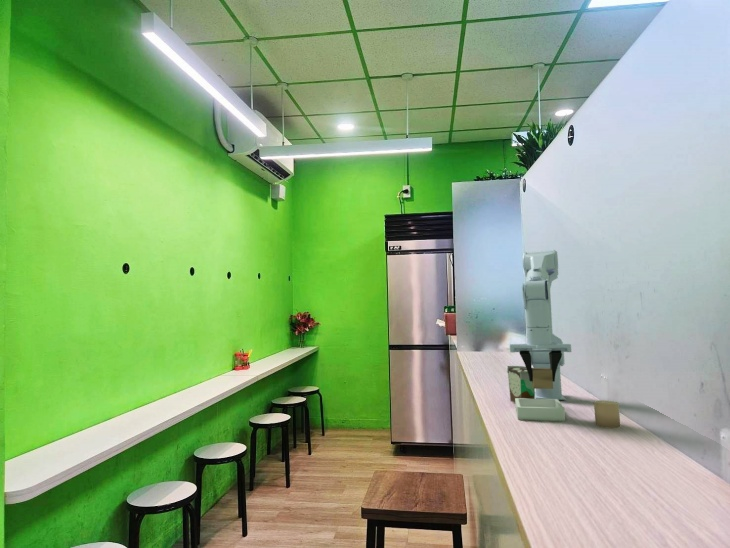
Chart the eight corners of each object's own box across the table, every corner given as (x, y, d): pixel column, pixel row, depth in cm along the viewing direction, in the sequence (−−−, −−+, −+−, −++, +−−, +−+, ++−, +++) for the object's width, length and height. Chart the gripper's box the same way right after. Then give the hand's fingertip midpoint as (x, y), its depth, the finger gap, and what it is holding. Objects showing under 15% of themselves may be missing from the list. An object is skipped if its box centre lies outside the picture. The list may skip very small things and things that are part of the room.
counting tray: (515, 409, 117) (514, 398, 117) (558, 410, 114) (557, 399, 114) (518, 419, 106) (517, 407, 107) (565, 421, 104) (564, 408, 104)
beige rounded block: (593, 421, 103) (591, 400, 103) (617, 422, 101) (615, 400, 102) (598, 427, 98) (596, 404, 98) (623, 428, 97) (621, 405, 97)
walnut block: (532, 385, 113) (530, 367, 114) (550, 385, 112) (549, 367, 113) (533, 388, 109) (532, 370, 109) (553, 388, 108) (552, 370, 108)
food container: (546, 409, 116) (543, 371, 117) (523, 410, 116) (520, 371, 117) (529, 399, 128) (527, 365, 129) (508, 400, 128) (506, 365, 129)
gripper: (509, 328, 110) (512, 383, 109) (572, 327, 106) (575, 383, 105) (508, 327, 117) (511, 378, 116) (566, 326, 113) (570, 379, 112)
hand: (541, 380), depth 111 cm, fingers closed on walnut block, 4 cm apart
